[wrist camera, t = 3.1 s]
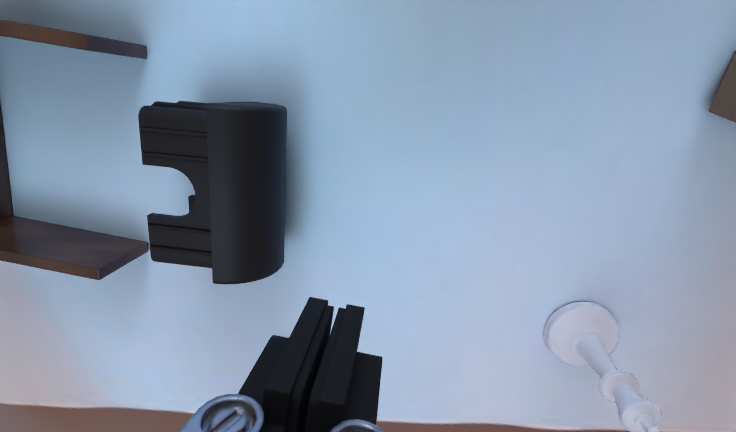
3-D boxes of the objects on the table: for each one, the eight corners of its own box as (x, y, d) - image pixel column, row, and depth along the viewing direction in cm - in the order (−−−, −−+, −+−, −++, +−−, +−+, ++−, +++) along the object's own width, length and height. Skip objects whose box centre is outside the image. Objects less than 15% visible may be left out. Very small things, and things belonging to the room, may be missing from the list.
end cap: (297, 247, 29) (265, 292, 22) (203, 237, 29) (145, 277, 23) (301, 105, 26) (266, 108, 19) (197, 96, 26) (128, 96, 20)
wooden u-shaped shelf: (147, 45, 26) (87, 34, 21) (148, 251, 30) (99, 280, 25) (-21, 17, 26) (-116, 0, 21) (5, 223, 31) (-70, 247, 26)
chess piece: (558, 370, 29) (629, 500, 20) (532, 317, 28) (595, 428, 19) (625, 346, 28) (735, 473, 19) (601, 290, 27) (704, 394, 18)
